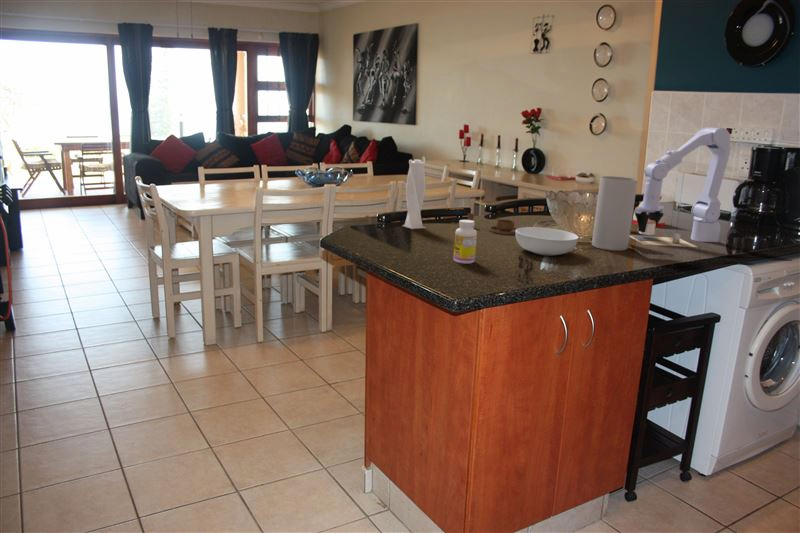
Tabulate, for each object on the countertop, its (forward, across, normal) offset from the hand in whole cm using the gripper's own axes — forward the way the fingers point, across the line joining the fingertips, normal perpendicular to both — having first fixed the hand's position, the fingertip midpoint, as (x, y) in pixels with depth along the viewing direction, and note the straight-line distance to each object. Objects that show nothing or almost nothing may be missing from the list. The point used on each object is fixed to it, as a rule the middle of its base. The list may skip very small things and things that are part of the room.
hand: (646, 231), depth 243 cm
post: (+3, +5, -10) cm, 11 cm away
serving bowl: (+5, -52, +1) cm, 52 cm away
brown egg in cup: (+1, 0, 0) cm, 1 cm away
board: (+4, +3, -5) cm, 7 cm away
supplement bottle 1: (+5, -86, 0) cm, 87 cm away
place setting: (+5, -42, +37) cm, 56 cm away
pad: (+3, 0, 0) cm, 3 cm away
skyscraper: (+5, -72, +52) cm, 89 cm away
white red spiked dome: (+5, +38, +28) cm, 47 cm away
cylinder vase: (+5, -22, -1) cm, 22 cm away
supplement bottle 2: (+5, +5, +15) cm, 17 cm away
